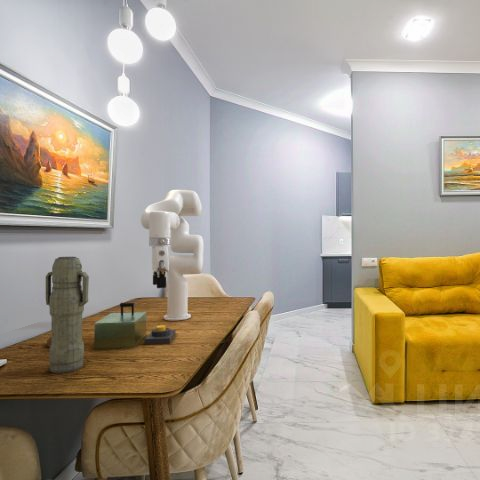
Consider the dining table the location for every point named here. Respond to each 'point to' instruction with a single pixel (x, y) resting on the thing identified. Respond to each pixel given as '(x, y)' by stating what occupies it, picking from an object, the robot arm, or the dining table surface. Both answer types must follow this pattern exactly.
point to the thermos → (66, 313)
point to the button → (161, 328)
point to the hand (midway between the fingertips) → (159, 286)
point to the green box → (119, 335)
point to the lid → (122, 316)
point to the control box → (160, 337)
